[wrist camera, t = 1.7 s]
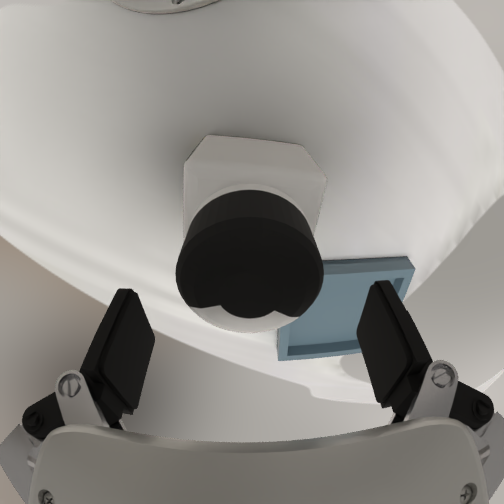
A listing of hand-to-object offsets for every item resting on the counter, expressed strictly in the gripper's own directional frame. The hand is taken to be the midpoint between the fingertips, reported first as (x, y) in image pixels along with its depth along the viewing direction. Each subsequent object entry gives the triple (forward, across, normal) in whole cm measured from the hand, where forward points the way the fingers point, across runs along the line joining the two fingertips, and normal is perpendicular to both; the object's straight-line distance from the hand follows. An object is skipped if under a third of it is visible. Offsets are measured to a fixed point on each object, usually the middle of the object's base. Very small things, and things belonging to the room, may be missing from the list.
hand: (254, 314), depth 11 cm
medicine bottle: (+12, 0, -1) cm, 13 cm away
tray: (+13, -9, +13) cm, 20 cm away
